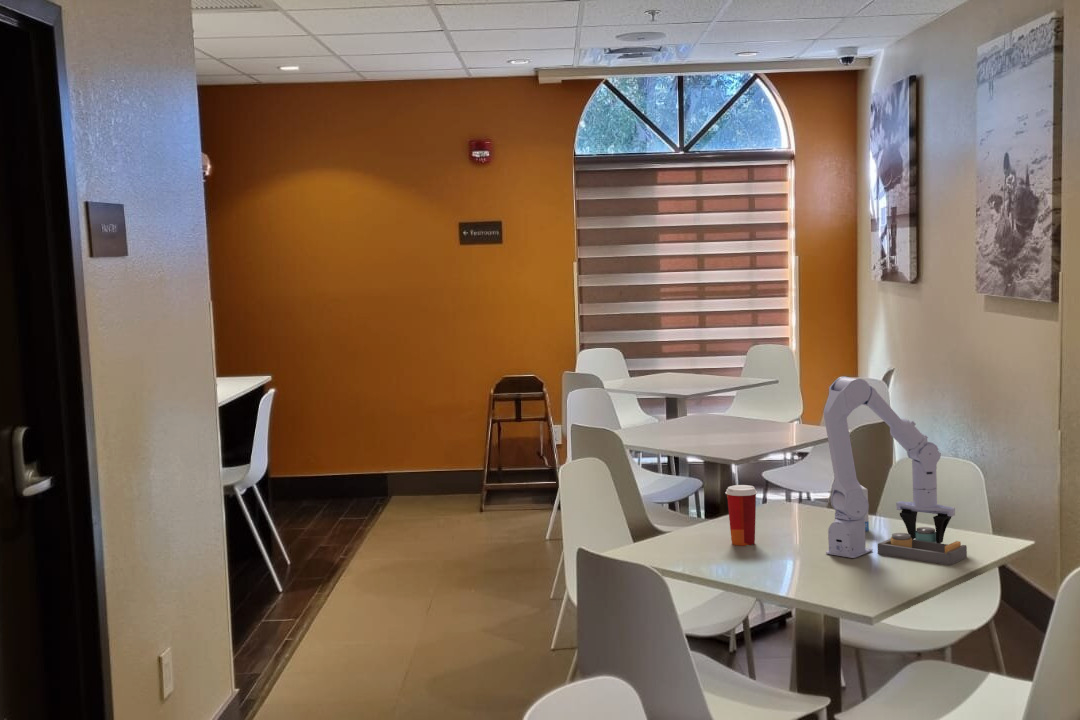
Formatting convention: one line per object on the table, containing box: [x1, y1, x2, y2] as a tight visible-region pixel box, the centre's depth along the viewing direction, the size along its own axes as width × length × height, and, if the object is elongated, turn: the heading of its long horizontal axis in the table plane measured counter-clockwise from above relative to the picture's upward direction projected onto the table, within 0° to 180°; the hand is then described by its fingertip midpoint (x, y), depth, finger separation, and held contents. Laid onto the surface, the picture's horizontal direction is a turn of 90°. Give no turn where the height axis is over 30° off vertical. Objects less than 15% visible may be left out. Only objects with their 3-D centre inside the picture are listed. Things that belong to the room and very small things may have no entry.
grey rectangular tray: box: [877, 538, 968, 566], centre depth 248 cm, size 9×18×3 cm, turn 43°
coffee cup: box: [724, 484, 758, 547], centre depth 268 cm, size 8×8×15 cm
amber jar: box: [890, 532, 912, 548], centre depth 252 cm, size 5×5×4 cm
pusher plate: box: [945, 540, 962, 553], centre depth 242 cm, size 6×1×4 cm, turn 133°
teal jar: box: [914, 526, 936, 543], centre depth 257 cm, size 5×5×4 cm
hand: (926, 540), depth 257 cm, fingers open, 6 cm apart
